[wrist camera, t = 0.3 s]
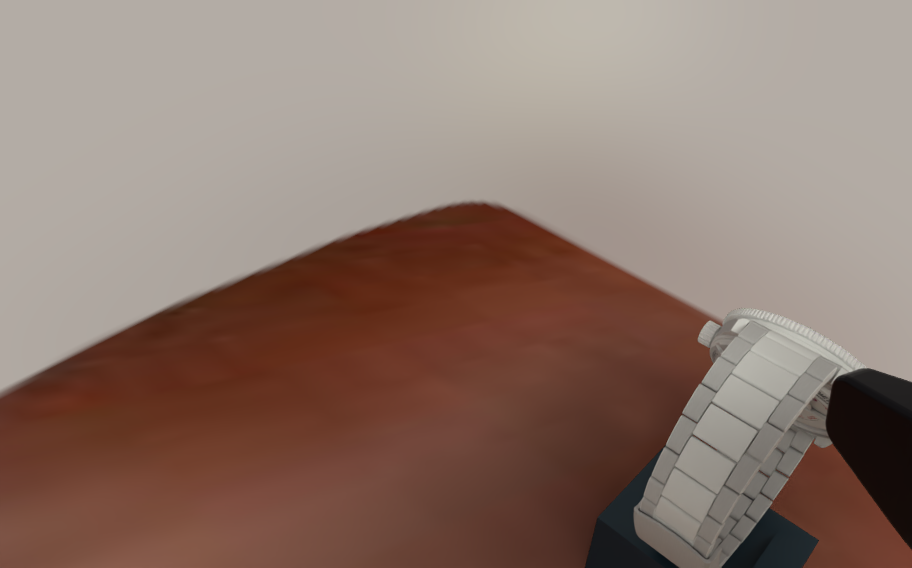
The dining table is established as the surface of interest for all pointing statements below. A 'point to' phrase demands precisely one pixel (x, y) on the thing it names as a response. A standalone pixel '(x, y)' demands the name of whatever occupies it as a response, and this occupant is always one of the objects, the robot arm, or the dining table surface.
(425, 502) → the dining table surface
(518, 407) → the dining table surface
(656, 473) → the watch
